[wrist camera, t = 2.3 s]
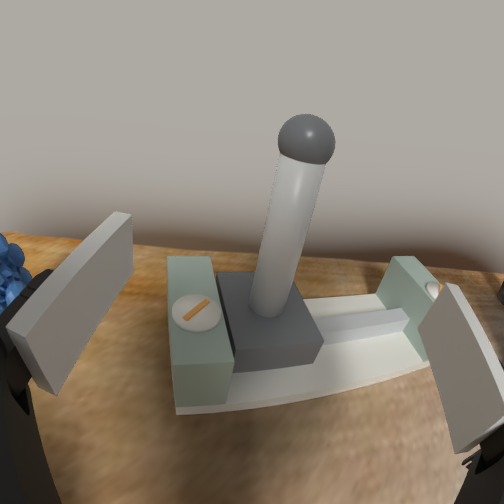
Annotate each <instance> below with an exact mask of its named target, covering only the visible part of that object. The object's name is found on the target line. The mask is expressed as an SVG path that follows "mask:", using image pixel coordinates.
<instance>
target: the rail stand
mask: <svg viewBox="0 0 504 504" xmlns="http://www.w3.org/2000/svg"><path fill="white" fill-rule="evenodd" d="M443 286H444V285H442V284H440V283H439V282H438V281H437V280H436V279H435V277H434V276H433V275H432V274H431V273H430V272H429V271H428V270H427V269H426V268H425V267H424V266H423V265H422V264H421V263H420V262H419V261H418V260H417V259H416V258H415V257H414V256H393V257H392V259H391V261H390V264H389V266H388V268H387V270H386V272H385V274H384V277H383V279H382V281H381V283H380V285H379V287H378V289H377V291H376V293H375V294H366V295H354V296H342V297H328V298H314V299H303V300H304V302H305V304H306V306H307V308H308V310H309V312H310V314H311V316H312V318H313V320H314V321H315V323H316V325H317V327H318V329H319V331H320V333H321V335H322V337H323V339H324V343H323V345H322V347H321V349H320V351H319V353H318V355H317V357H316V359H315V361H314V363H313V364H307V365H300V366H293V367H286V368H279V369H270V370H262V371H252V372H242V373H232V372H233V367H234V362H235V361H234V357H233V353H232V349H231V345H230V341H229V337H228V333H227V329H226V325H225V320H224V316H223V312H222V308H221V303H220V299H219V295H218V290H217V286H216V281H215V277H214V272H213V268H212V263H211V258H210V256H167V306H168V329H169V345H170V358H171V370H172V381H173V391H174V400H175V409H176V415H191V414H206V413H218V412H228V411H238V410H246V409H254V408H261V407H268V406H275V405H281V404H287V403H292V402H298V401H303V400H308V399H313V398H318V397H323V396H327V395H332V394H336V393H340V392H344V391H348V390H352V389H356V388H360V387H364V386H367V385H371V384H375V383H378V382H382V381H385V380H388V379H392V378H395V377H398V376H401V375H404V374H407V373H410V372H413V371H416V370H419V369H422V368H425V367H427V366H430V363H429V360H428V357H427V354H426V351H425V348H424V345H423V342H422V340H421V337H420V334H419V332H418V329H417V328H418V326H419V325H420V323H421V322H422V320H423V319H424V317H425V316H426V314H427V313H428V311H429V309H430V308H431V306H432V305H433V303H434V301H435V300H436V298H437V296H438V295H439V293H440V291H441V289H442V288H443Z"/></svg>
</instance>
